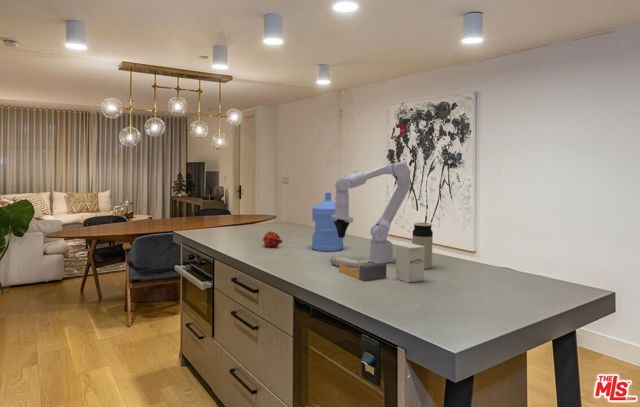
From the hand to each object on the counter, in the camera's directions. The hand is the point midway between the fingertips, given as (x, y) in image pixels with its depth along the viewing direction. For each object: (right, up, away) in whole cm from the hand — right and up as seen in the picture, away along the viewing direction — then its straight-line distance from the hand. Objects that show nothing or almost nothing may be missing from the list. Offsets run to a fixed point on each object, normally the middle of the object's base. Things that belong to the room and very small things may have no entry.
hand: (341, 237), depth 187 cm
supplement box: (+23, -13, -29) cm, 40 cm away
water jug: (-5, -8, +30) cm, 32 cm away
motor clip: (+6, -12, -22) cm, 26 cm away
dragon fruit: (-34, -8, +34) cm, 49 cm away
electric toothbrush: (+3, -12, -16) cm, 20 cm away
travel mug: (+32, -12, -9) cm, 36 cm away
